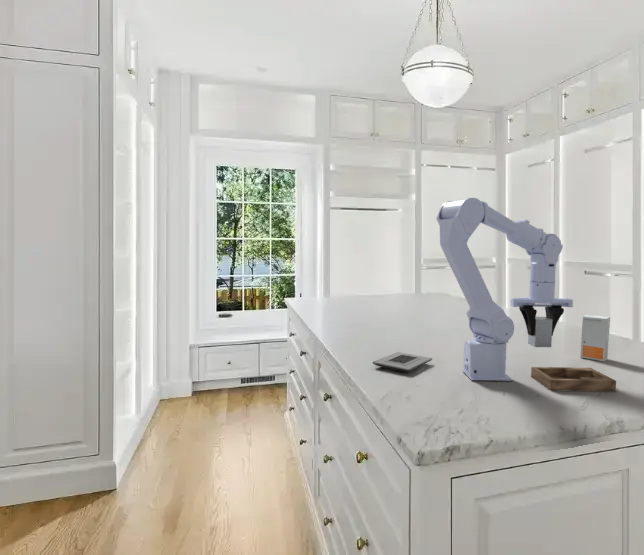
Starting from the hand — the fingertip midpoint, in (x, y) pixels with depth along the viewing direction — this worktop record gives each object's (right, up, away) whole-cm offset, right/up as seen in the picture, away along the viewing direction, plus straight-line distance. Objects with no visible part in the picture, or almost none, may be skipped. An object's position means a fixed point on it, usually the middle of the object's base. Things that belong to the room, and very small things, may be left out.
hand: (539, 335), depth 110 cm
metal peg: (0, -3, 0) cm, 3 cm away
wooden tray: (+3, -10, -9) cm, 14 cm away
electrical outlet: (-34, -10, +5) cm, 36 cm away
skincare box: (+21, -8, +12) cm, 26 cm away
